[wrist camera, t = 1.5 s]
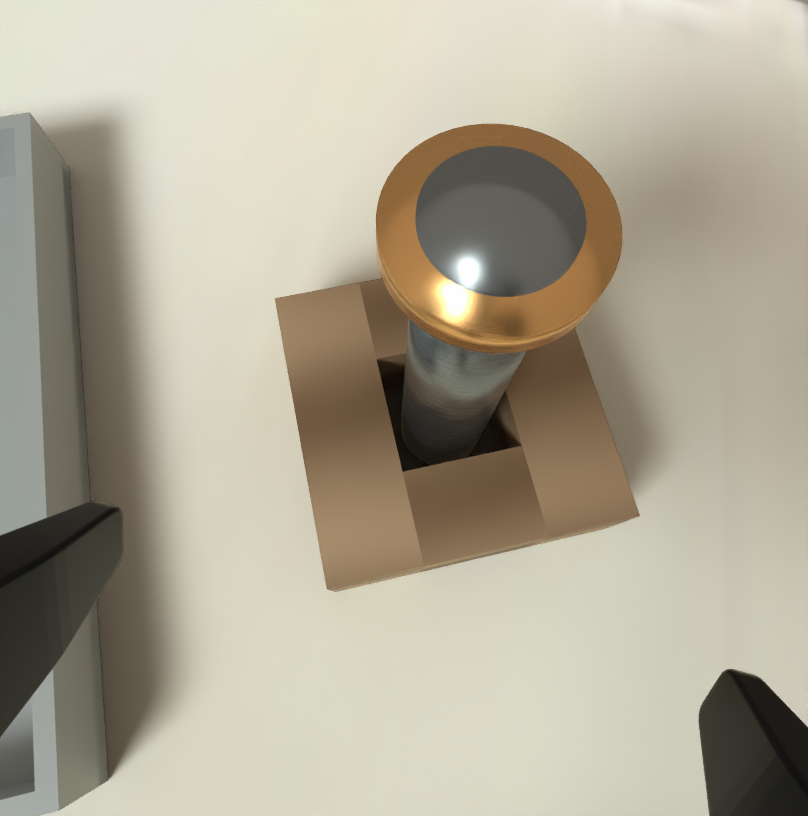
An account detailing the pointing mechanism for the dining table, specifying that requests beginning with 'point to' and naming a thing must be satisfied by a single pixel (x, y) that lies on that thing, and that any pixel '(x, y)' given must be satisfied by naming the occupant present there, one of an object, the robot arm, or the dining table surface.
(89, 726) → the tray
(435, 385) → the copper collared peg
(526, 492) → the socket block
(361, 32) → the dining table surface
